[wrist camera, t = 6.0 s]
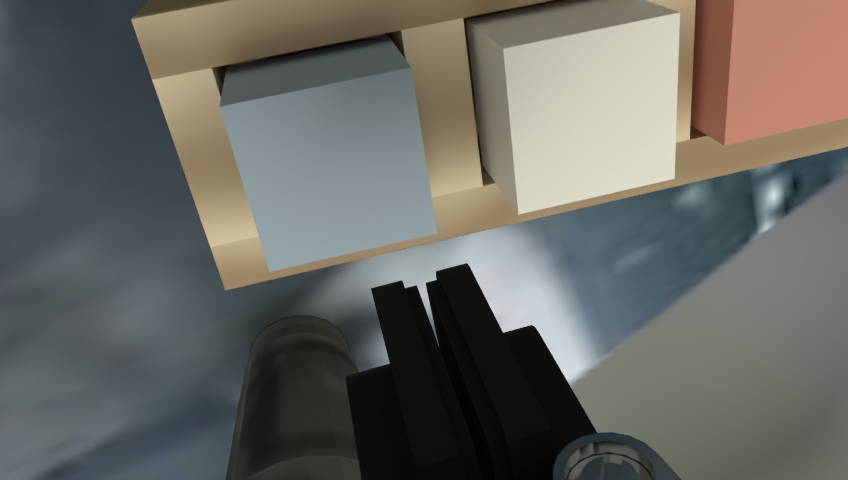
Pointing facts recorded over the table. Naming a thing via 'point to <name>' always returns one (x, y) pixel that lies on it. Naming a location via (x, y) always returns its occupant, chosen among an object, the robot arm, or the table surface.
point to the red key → (768, 66)
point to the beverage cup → (296, 406)
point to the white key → (576, 98)
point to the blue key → (329, 150)
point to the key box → (436, 100)
